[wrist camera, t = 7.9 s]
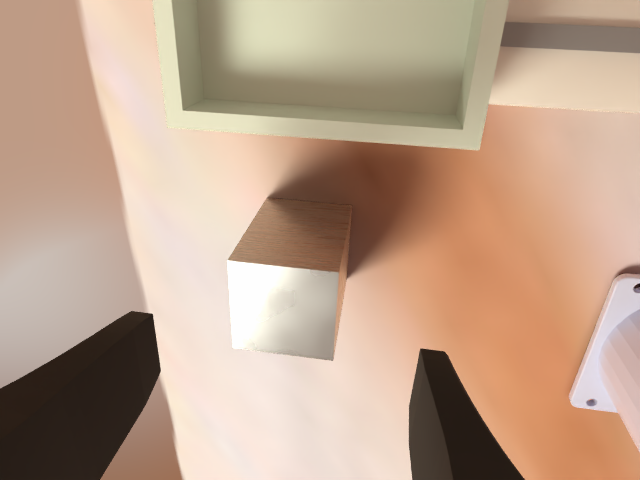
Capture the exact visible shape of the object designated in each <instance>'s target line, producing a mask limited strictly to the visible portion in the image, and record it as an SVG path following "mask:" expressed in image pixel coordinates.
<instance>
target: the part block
mask: <svg viewBox="0 0 640 480" xmlns="http://www.w3.org/2000/svg"><path fill="white" fill-rule="evenodd" d="M351 215H352V205H344V204H332V203H321V202H310V201H299V200H288V199H277V198H267V199H266V200H265V202H264V203H263V205H262V207H261V208H260V210H259V211H258V213H257V215H256V216H255V218H254V219H253V221H252V222H251V224H250V226H249V227H248V229H247V230H246V232H245V234H244V235H243V237H242V238H241V240H240V242H239V243H238V245H237V246H236V248H235V249H234V251H233V253H232V254H231V256H230V257H229V259H228V261H227V263H228V279H229V295H230V311H231V327H232V343H233V348H236V349H244V350H252V351H260V352H268V353H276V354H284V355H292V356H300V357H308V358H316V359H324V360H332V361H333V358H334V352H335V346H336V340H337V334H338V328H339V322H340V316H341V310H342V304H343V298H344V292H345V286H346V280H347V268H348V255H349V241H350V228H351Z"/></svg>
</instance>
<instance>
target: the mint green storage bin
mask: <svg viewBox="0 0 640 480" xmlns="http://www.w3.org/2000/svg"><path fill="white" fill-rule="evenodd" d="M152 2H153V10H154V19H155V27H156V36H157V44H158V53H159V62H160V70H161V79H162V87H163V96H164V105H165V113H166V122H167V128H180V129H193V130H207V131H221V132H234V133H248V134H262V135H276V136H289V137H303V138H317V139H330V140H344V141H358V142H371V143H385V144H399V145H413V146H426V147H440V148H454V149H467V150H480V145H481V140H482V135H483V130H484V125H485V120H486V115H487V109H488V104H489V99H490V94H491V89H492V84H493V79H494V74H495V69H496V64H497V59H498V54H499V49H500V44H501V39H502V34H503V29H504V24H505V19H506V14H507V9H508V4H509V0H152Z"/></svg>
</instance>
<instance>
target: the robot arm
mask: <svg viewBox="0 0 640 480" xmlns="http://www.w3.org/2000/svg"><path fill="white" fill-rule="evenodd" d="M639 283H640V275H639V274H629V273H628V274H621V275H619V276H617V277H616V278H615V279H614V281H613V282H612V285H611V288H610V290H609V293H608V295H607V298H606V301H605V303H604V306H603V308H602V311H601V314H600V316H599V319H598V321H597V324H596V327H595V329H594V332H593V334H592V337H591V339H590V342H589V345H588V347H587V350H586V352H585V355H584V358H583V360H582V363H581V365H580V368H579V371H578V373H577V376H576V378H575V381H574V384H573V386H572V389H571V391H570V394H569V399H570V402H571V404H572V405H573V406H575V407H578V408H585V409H593V410H601V411H609V412H617V413H619V415H620V417H621V419H622V421H623V422H624V424H625V426H626V428H627V430H628V432H629V433H630V435H631V437H632V439H633V441H634V443H635V445H636V446H637V448H638V450H639V452H640V287H638V288H634V286H635V285H637V284H639ZM160 372H161V369H160V362H159V355H158V348H157V341H156V334H155V327H154V320H153V314H150V313H142V312H134V311H131V312H129V313H127V314H126V315H124V316H122V317H121V318H119V319H117V320H116V321H114V322H113V323H111V324H109V325H108V326H106V327H105V328H103V329H101V330H100V331H98V332H97V333H95V334H94V335H92V336H91V337H89V338H88V339H86V340H84V341H82V342H81V343H79V344H78V345H76V346H74V347H73V348H71V349H70V350H68V351H66V352H65V353H63V354H61V355H60V356H58V357H56V358H55V359H53V360H51V361H50V362H48V363H46V364H44V365H42V366H41V367H39V368H37V369H35V370H34V371H32V372H30V373H28V374H27V375H25V376H23V377H22V378H20V379H18V380H16V381H14V382H12V383H10V384H8V385H6V386H4V387H2V388H1V389H0V480H100V479H101V477H102V475H103V474H104V472H105V470H106V469H107V467H108V466H109V464H110V462H111V461H112V459H113V458H114V456H115V454H116V453H117V451H118V449H119V448H120V446H121V445H122V443H123V441H124V440H125V438H126V437H127V435H128V433H129V432H130V430H131V428H132V427H133V425H134V423H135V422H136V420H137V418H138V417H139V415H140V413H141V412H142V410H143V408H144V407H145V405H146V403H147V401H148V399H149V396H150V394H151V392H152V390H153V388H154V386H155V383H156V381H157V379H158V376H159V374H160ZM589 399H592V400H589ZM587 400H588V401H587ZM409 450H410V460H411V470H412V479H413V480H525V479H524V478H523V477H522V475H521V474H520V473H519V471H518V470H517V469H516V467H515V466H514V465H513V463H512V462H511V461H510V459H509V458H508V457H507V455H506V454H505V452H504V451H503V449H502V448H501V447H500V445H499V444H498V442H497V441H496V439H495V438H494V436H493V435H492V433H491V432H490V430H489V429H488V427H487V426H486V424H485V422H484V421H483V419H482V418H481V416H480V414H479V413H478V411H477V409H476V408H475V406H474V404H473V403H472V401H471V399H470V397H469V396H468V394H467V392H466V390H465V388H464V387H463V385H462V383H461V381H460V379H459V377H458V375H457V373H456V371H455V369H454V367H453V365H452V363H451V361H450V359H449V357H448V355H447V354H446V353H445V352H444V351H436V350H428V349H421V348H420V353H419V358H418V363H417V369H416V374H415V379H414V384H413V389H412V394H411V399H410V405H409Z"/></svg>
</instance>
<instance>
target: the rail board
mask: <svg viewBox="0 0 640 480" xmlns="http://www.w3.org/2000/svg"><path fill="white" fill-rule="evenodd" d="M489 104H494V105H510V106H526V107H542V108H558V109H574V110H590V111H606V112H622V113H637V114H640V0H509V4H508V9H507V14H506V19H505V24H504V29H503V34H502V39H501V44H500V49H499V54H498V59H497V64H496V69H495V74H494V79H493V84H492V89H491V94H490V99H489Z"/></svg>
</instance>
